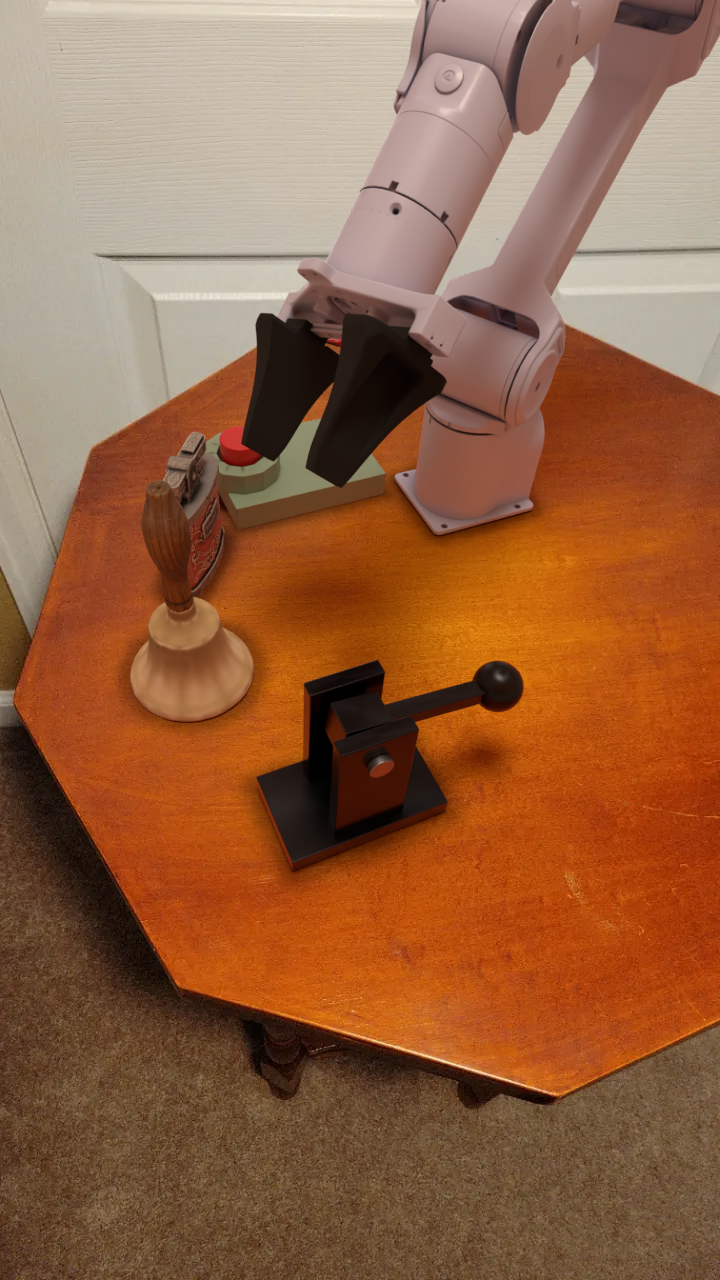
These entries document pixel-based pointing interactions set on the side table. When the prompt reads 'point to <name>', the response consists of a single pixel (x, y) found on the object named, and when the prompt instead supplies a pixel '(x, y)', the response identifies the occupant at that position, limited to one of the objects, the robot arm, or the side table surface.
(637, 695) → the side table surface
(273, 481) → the button box
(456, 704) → the black lever handle
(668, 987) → the side table surface
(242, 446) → the button
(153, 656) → the hand bell
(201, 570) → the lighter
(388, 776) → the lever base
